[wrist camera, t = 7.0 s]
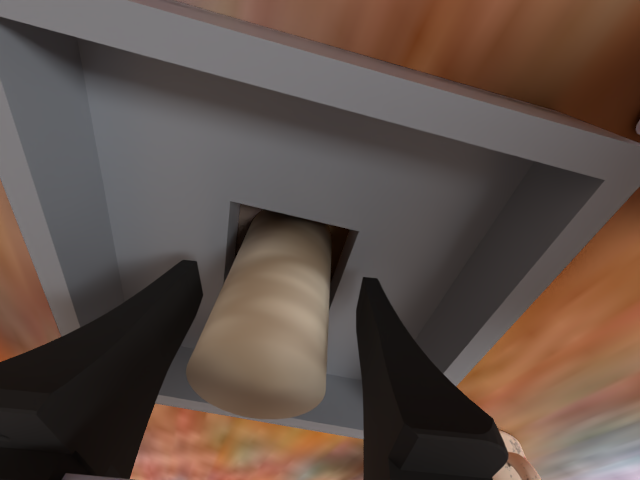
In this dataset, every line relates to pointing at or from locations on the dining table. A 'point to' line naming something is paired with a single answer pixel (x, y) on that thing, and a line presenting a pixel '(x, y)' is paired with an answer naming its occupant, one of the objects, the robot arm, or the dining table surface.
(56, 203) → the box
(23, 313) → the dining table surface
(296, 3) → the dining table surface
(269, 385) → the peg
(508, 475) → the teacup with lid
